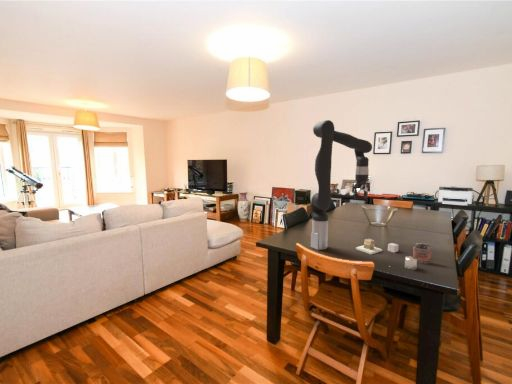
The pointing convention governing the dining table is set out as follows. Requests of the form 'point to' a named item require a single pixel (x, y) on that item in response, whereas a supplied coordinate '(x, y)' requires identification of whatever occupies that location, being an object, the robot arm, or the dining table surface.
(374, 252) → the plate
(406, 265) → the metal tin
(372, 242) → the beech block
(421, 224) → the dining table surface
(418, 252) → the lighter
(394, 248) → the white block
